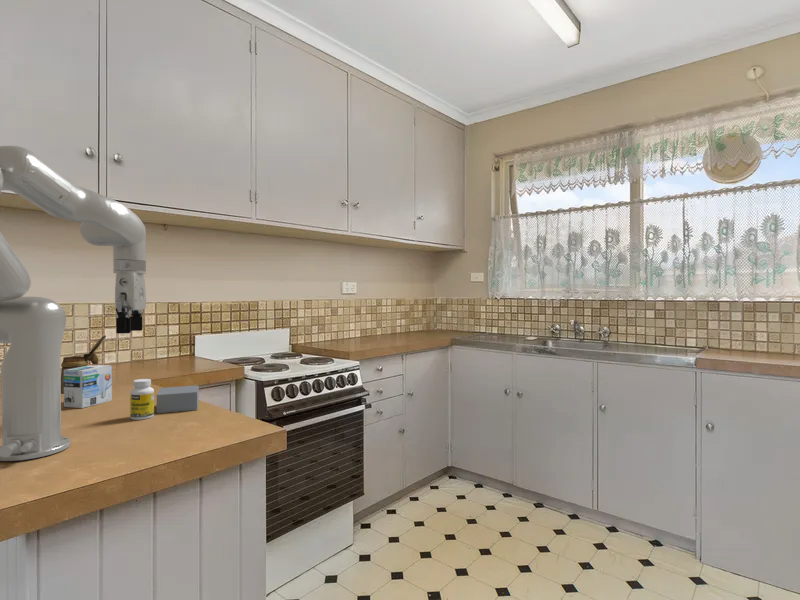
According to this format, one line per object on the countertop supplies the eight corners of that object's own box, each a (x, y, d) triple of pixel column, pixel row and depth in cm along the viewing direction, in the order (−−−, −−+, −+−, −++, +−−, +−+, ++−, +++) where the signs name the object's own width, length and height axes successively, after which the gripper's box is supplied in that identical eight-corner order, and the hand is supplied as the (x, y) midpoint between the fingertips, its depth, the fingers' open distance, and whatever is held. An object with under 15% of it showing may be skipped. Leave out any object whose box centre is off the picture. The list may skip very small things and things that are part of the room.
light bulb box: (82, 408, 129) (82, 370, 129) (62, 407, 131) (62, 369, 131) (113, 400, 140) (112, 364, 140) (94, 399, 141) (94, 364, 141)
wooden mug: (107, 389, 156) (107, 336, 155) (58, 394, 148) (57, 338, 147) (105, 385, 163) (104, 334, 163) (57, 389, 155) (57, 336, 154)
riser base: (197, 410, 128) (197, 392, 128) (156, 413, 124) (156, 395, 124) (198, 402, 137) (198, 385, 137) (161, 405, 133) (160, 387, 133)
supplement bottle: (127, 421, 117) (127, 382, 117) (133, 415, 122) (133, 378, 122) (151, 419, 118) (150, 381, 118) (156, 414, 124) (156, 377, 123)
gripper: (134, 266, 115) (134, 334, 116) (154, 270, 132) (154, 329, 132) (101, 265, 114) (101, 334, 114) (125, 269, 131) (125, 330, 131)
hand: (129, 331), depth 123 cm, fingers open, 9 cm apart
